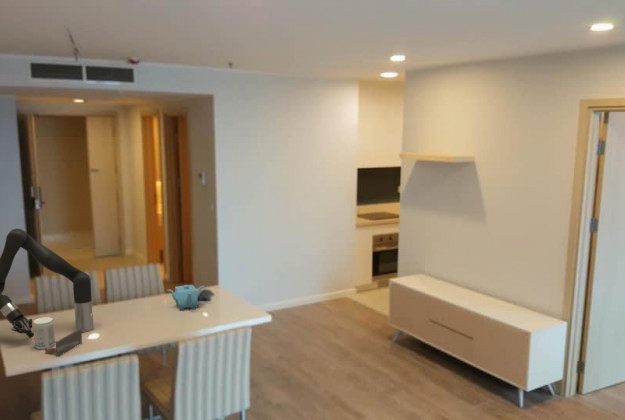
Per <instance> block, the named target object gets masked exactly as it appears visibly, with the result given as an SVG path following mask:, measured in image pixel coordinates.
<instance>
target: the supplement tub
mask: <svg viewBox="0 0 625 420" xmlns="http://www.w3.org/2000/svg"><path fill="white" fill-rule="evenodd" d="M53 319H54V318H52V317H49V316H43V317H39V318H37V319H36V318H35V320H33V321H32V328H33V333H34V336H33V337H34V347H35V348H36V349H39V350H45V348H46V347H49V348H53V347H54V345H56V339H55V327H54V320H53Z"/></svg>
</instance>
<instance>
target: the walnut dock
mask: <svg viewBox="0 0 625 420" xmlns="http://www.w3.org/2000/svg"><path fill="white" fill-rule="evenodd" d="M82 333H83V332H81V329H78V330H77V331H76V330H75V331H73V332H71V333H69V334H67V335H66V336H64V337H61V338H60V339H59V340H55V347H50V348H49V347H46V348H45V349H44V353H45V354H47V355H52V354H53V355H55V356H56V357H57V356H58V358H59V357H61V356H62V355H64V354H66V353H68V352H69V351H71V350H73V349H74V348H76V347H78V346H80V345H81V344H83V336H82V335H83V334H82ZM79 344H80V345H79ZM77 345H78V346H77ZM75 346H76V347H75ZM72 348H73V349H72ZM70 349H71V350H70ZM65 352H66V353H65ZM63 353H64V354H63ZM61 354H62V355H61ZM60 355H61V356H60Z"/></svg>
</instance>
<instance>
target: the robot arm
mask: <svg viewBox="0 0 625 420" xmlns="http://www.w3.org/2000/svg"><path fill="white" fill-rule="evenodd" d="M5 238H6V239H5V243H4V248H3V251H2V253H1V255H0V312H1V314H2V315H3V316H4V318H5V319H6V320H7V322H8V323H10V324H11V325H12V328H11V331H13V332H16V333H19V334H25V335H26V336H27V337H28V338H30V339H31V338H33V337H34V331H32V328H33V319H32V318H30V319H28V318H27V317H25V316H24V313H23V311H21V309H20V308H19V307H18V305H16V303H14V301H12V299H10V297H9V296H8V295H5V294H2V293H3V292H4V291H5V286H6V280H7V278H8V275H9V273H10V271H11V268H12V265H13V263H14V259H15V256H16V255H17V253H18V252H19V251H20V249H21V248H22V249H23V250H26V251H27V252H28V253H29V254H30V255H31V256H32V257H33V258H34V259H35V261H36V262H37V263H39V265H41V266H42V267H44V268H46V269H48V270H49V271H51V272H53V273H55V274H58V275H61V276H62V277H64V278H66V279H68V281H70V282H71V283H72V284H73V285H72V286H73V287H72V289H73V301H74V302H73V303H74V319H75V321H74V322H75V324H74V325H75V331H77V330H78V329H81V332H82V333H86V332H91V331H93V330H94V314H93V302H92V281H91V280H92V279H91V277H90V274H88V273H86V272H84V271H82V270H81V269H78V268H76V267H75V266H73V265H72V264H71V263H69V262H68V261H67V260H66V259H64V258H63V257H61V255H59V254H57V253H55V252H54V251H53V250H51V249H50V248H49V247H46V246H45V245H43V244H42V243H40V242H39V241H37V240H35V239H34V238H33V237H32V236H31V235H30V234H29V233H27V232H26V231H25V230H24V229H21V228H14V229H13V228H12V229H11V230H10V231H9V232H8V234H7V235H6V237H5Z"/></svg>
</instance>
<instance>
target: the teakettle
mask: <svg viewBox="0 0 625 420" xmlns="http://www.w3.org/2000/svg"><path fill="white" fill-rule="evenodd" d="M204 287H205V285H201V286H199V287H198V289H197V288H196V286H194V285H193V284H184V285H179V286H175V288H174V289H166V291H167V292H169V293H170V294H171V297H172V299H173V300H174V303H175V304H176V305H177V307H178V308H179V310H180V311H184V310H185V309H186V308H190V309H196V307H198V305H199V304H198V303H199V302H198V298H199V297H200V295H201V291H202V289H203V288H204ZM173 290H175V291H173Z"/></svg>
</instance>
